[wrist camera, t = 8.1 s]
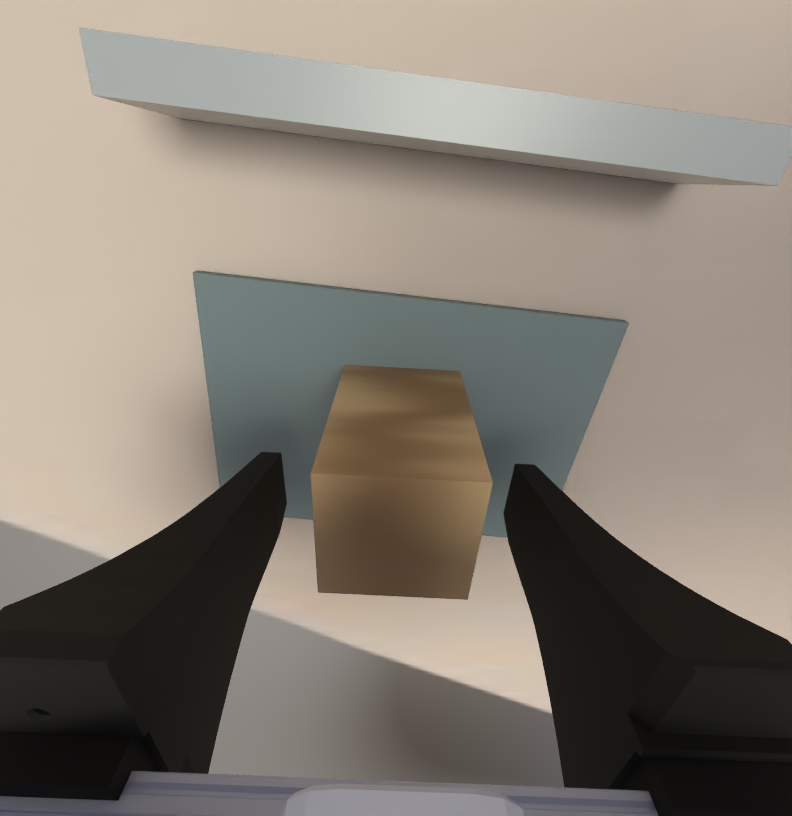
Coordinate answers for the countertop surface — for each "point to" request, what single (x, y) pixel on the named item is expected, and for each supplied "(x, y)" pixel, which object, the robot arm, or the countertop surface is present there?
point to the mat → (403, 348)
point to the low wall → (432, 112)
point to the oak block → (399, 485)
